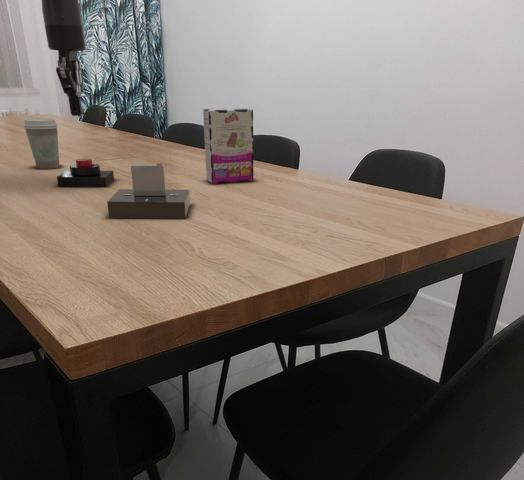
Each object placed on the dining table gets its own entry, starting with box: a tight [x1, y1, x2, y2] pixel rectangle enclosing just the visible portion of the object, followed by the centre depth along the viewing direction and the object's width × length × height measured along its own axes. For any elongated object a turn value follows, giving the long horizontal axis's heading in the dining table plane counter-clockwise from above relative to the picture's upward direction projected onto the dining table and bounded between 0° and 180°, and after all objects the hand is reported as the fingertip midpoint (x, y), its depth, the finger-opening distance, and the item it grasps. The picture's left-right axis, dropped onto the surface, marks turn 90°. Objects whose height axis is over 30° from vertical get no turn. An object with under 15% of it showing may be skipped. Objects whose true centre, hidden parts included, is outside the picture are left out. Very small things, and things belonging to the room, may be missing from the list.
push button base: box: [56, 163, 115, 188], centre depth 119 cm, size 11×9×4 cm
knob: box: [130, 162, 167, 196], centre depth 95 cm, size 6×2×6 cm, turn 93°
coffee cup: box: [23, 117, 60, 170], centre depth 135 cm, size 8×8×12 cm
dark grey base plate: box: [106, 188, 191, 219], centre depth 97 cm, size 14×11×3 cm
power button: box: [75, 157, 94, 167], centre depth 118 cm, size 4×4×2 cm
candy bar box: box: [202, 107, 254, 185], centre depth 121 cm, size 11×5×16 cm, turn 114°
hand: (77, 115), depth 113 cm, fingers closed
